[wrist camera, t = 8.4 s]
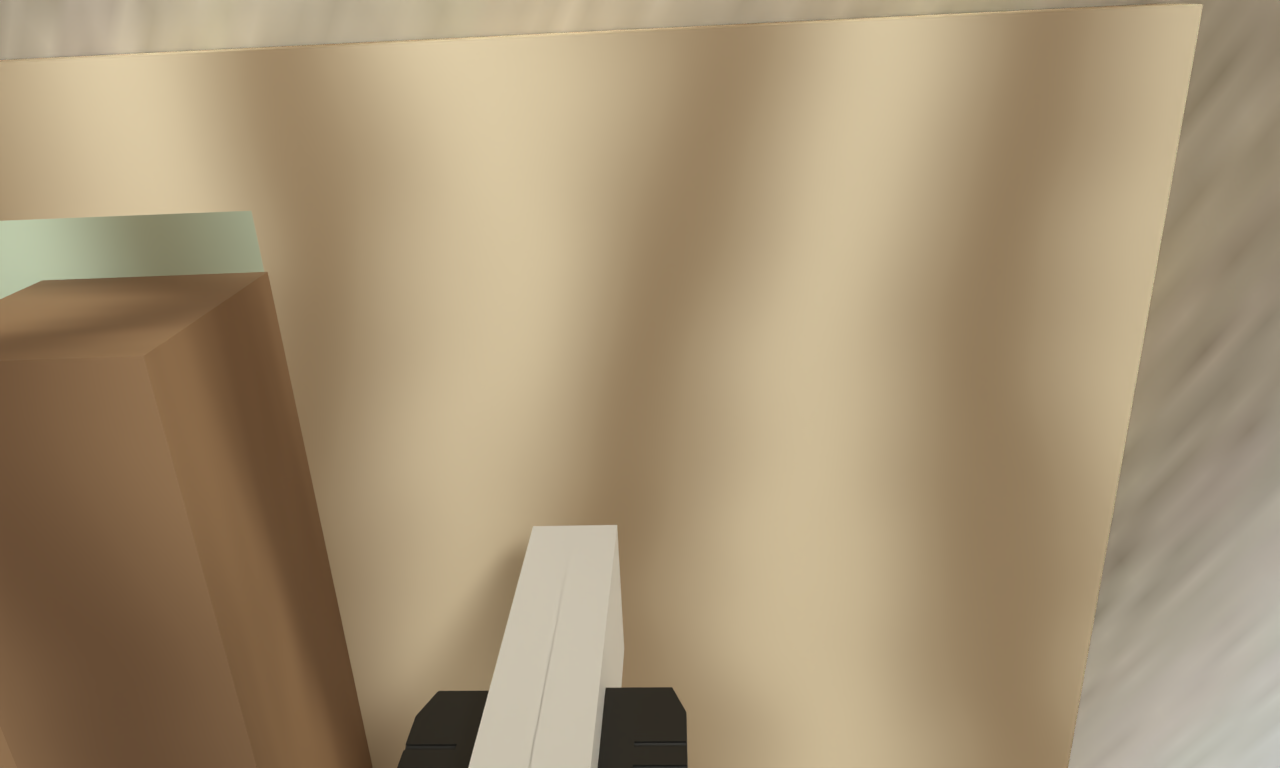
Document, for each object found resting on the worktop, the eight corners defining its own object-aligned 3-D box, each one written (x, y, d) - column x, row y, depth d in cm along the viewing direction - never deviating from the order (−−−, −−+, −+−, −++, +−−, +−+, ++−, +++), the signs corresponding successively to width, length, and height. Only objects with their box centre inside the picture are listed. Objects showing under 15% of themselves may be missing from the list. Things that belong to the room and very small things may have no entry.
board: (1163, 3, 15) (1203, 4, 14) (1025, 856, 22) (1043, 901, 21) (-581, 88, 16) (-673, 95, 15) (-165, 861, 24) (-207, 904, 22)
